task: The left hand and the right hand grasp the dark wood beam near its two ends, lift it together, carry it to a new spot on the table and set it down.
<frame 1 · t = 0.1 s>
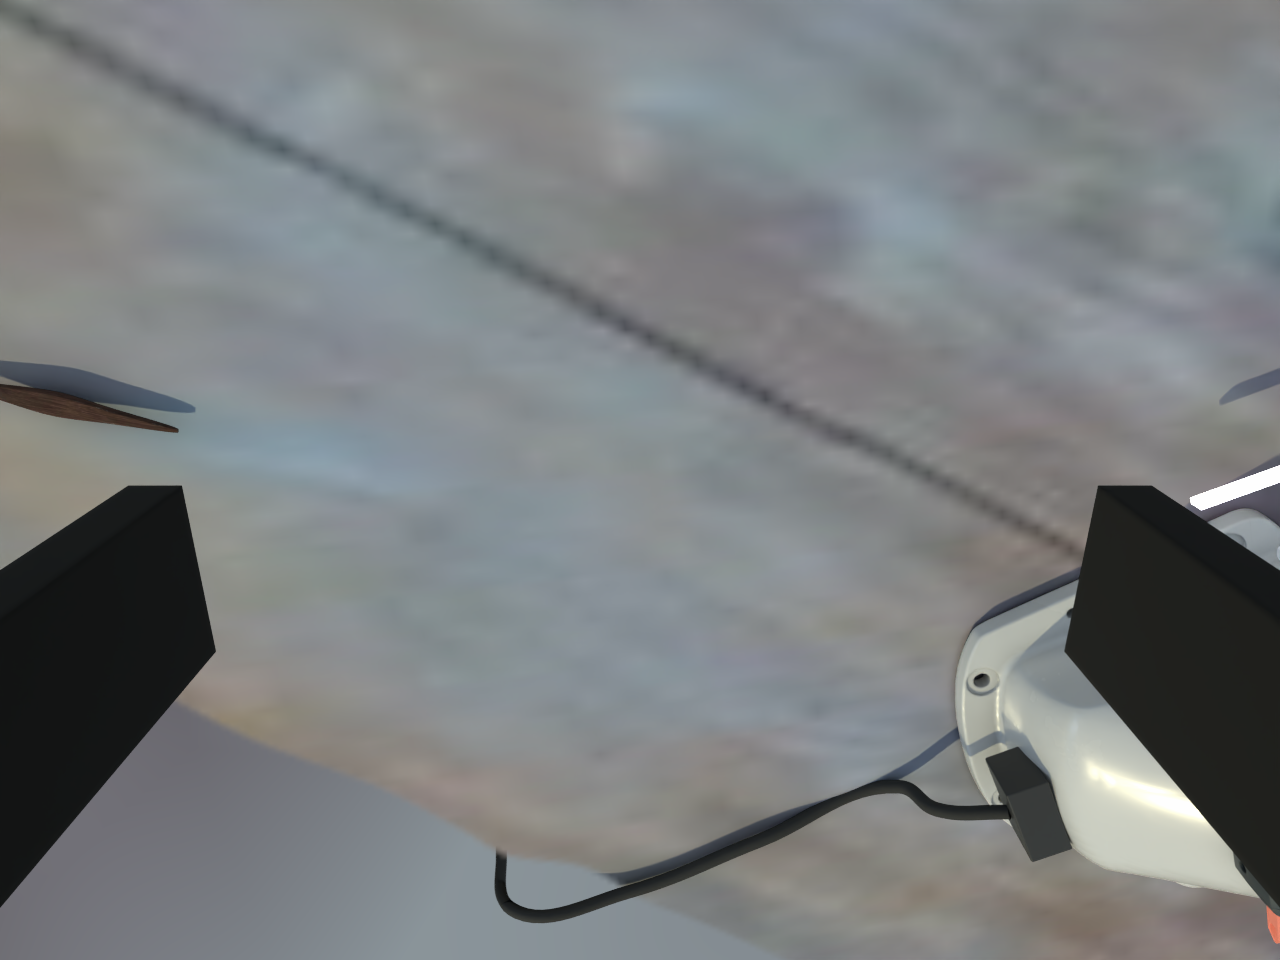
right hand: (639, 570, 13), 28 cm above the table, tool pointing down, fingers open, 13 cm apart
fork: (13, 388, 40), on the table
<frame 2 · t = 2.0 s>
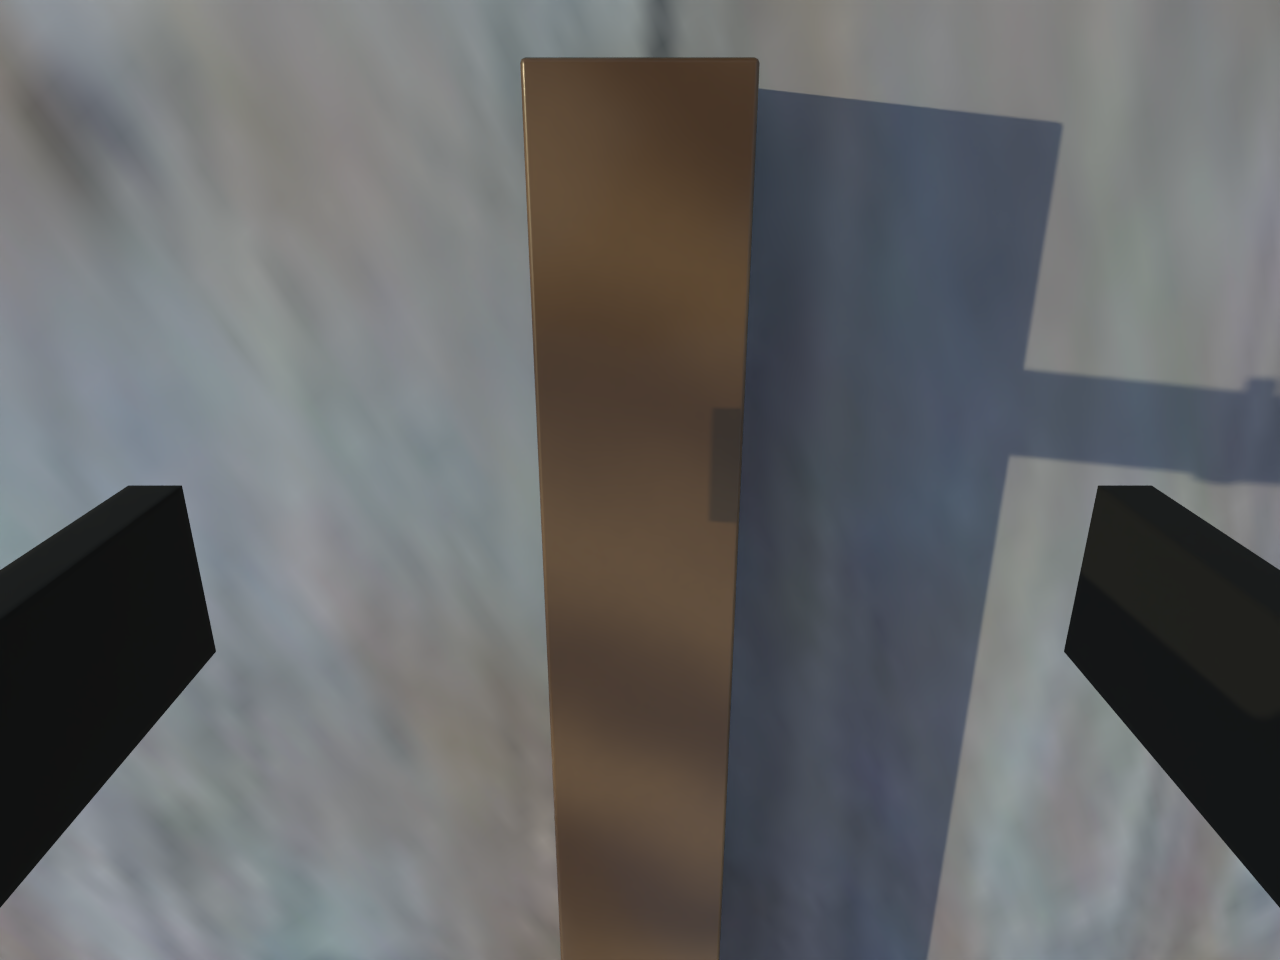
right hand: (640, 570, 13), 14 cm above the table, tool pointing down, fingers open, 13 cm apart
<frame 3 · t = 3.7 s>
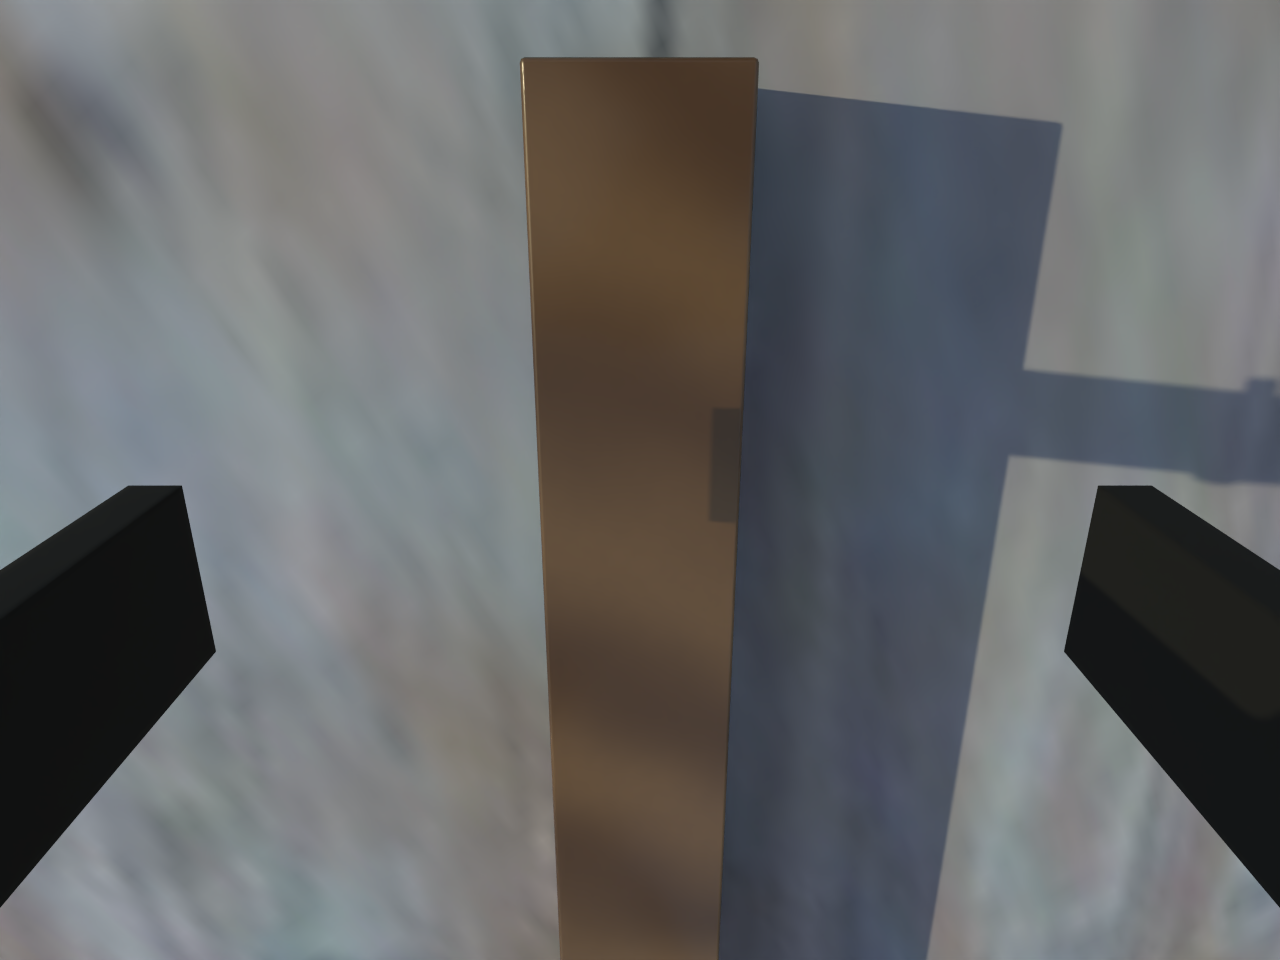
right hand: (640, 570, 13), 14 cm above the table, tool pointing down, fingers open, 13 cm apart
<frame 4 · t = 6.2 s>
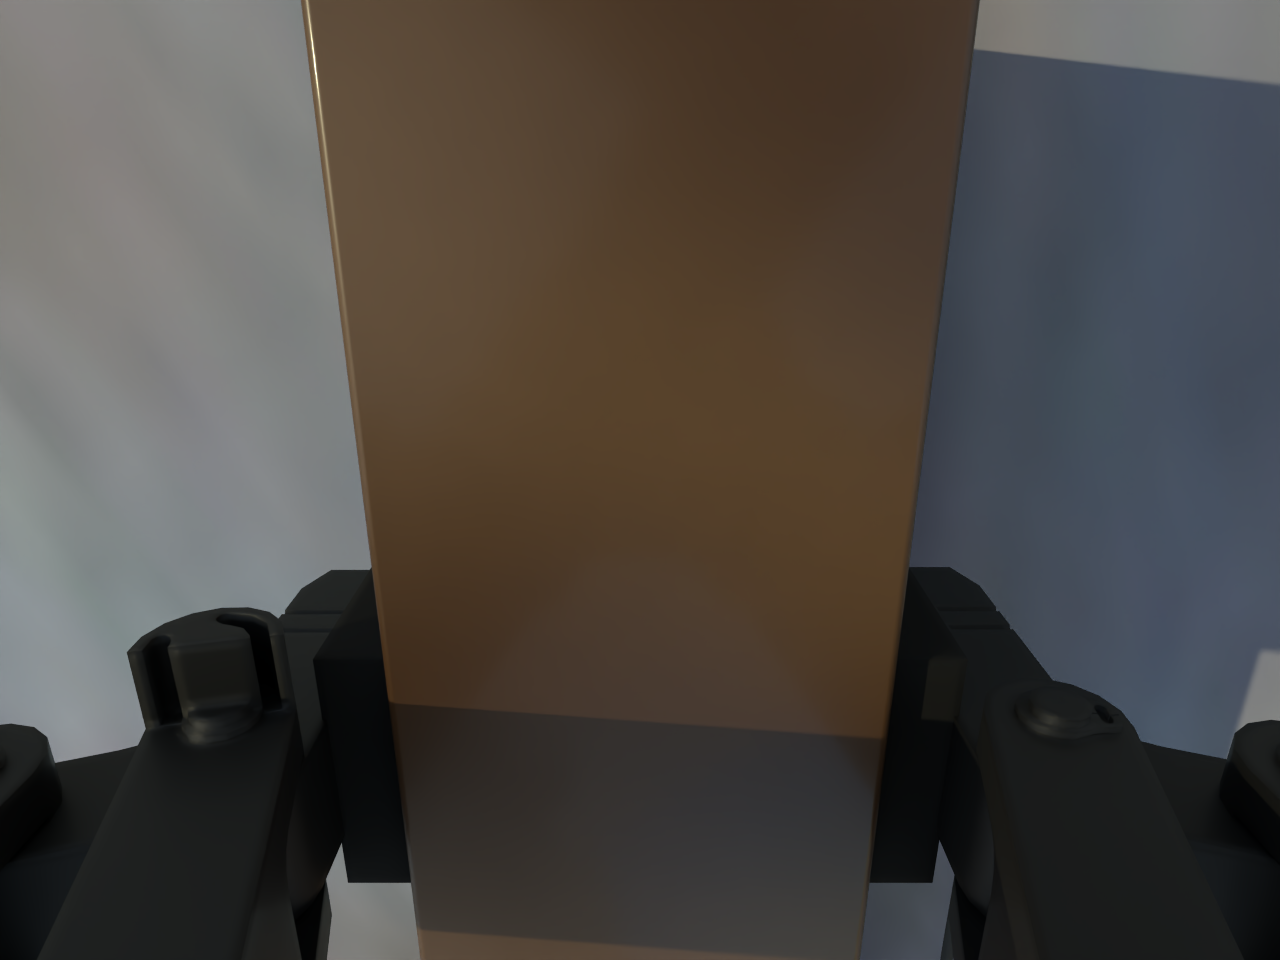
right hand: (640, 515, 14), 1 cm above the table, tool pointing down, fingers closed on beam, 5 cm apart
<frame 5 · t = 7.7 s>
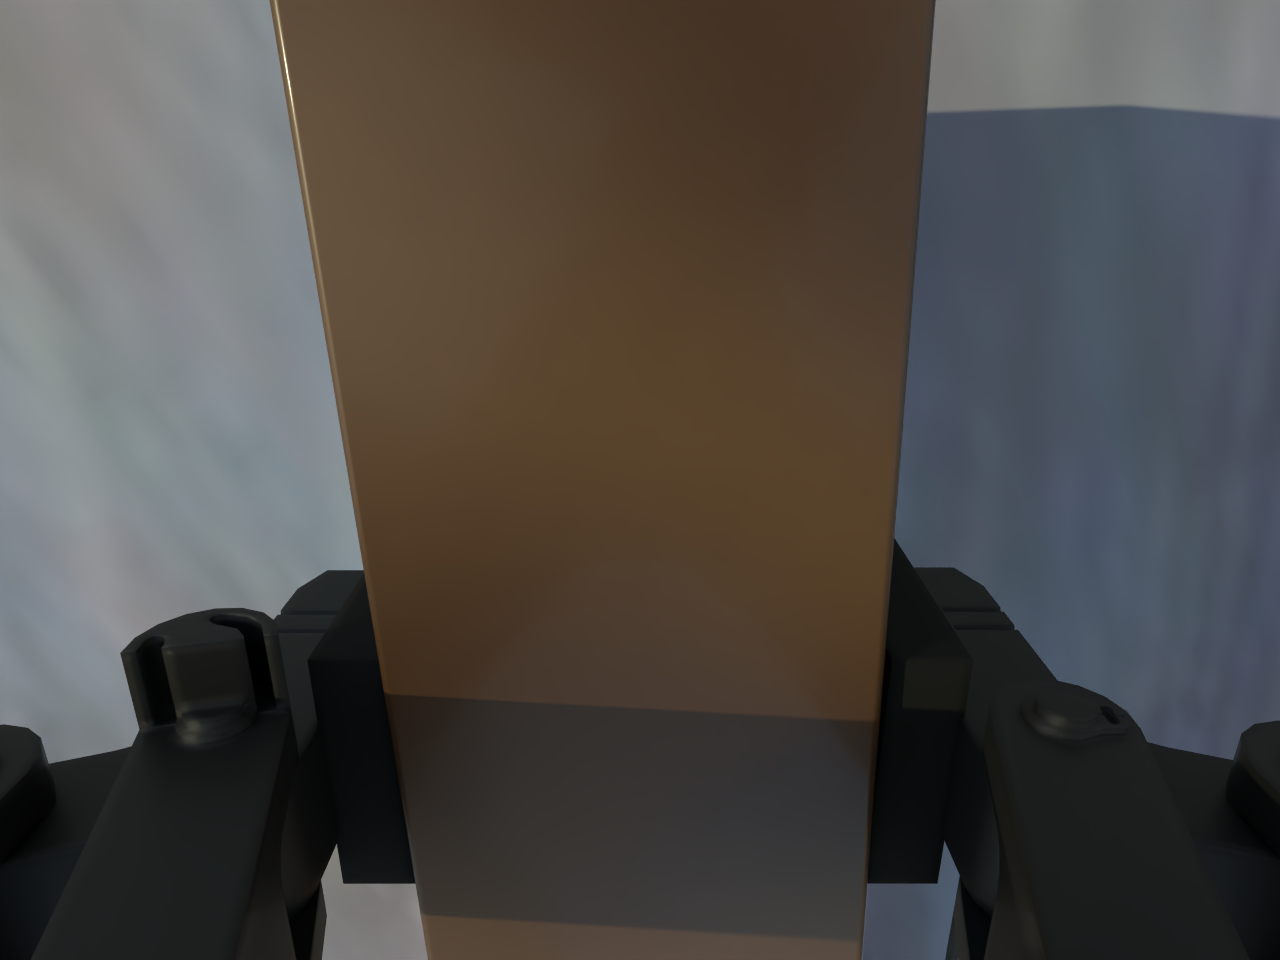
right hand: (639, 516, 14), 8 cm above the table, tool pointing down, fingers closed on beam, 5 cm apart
when the left hand's fingers open (4 cm above the table, at t = 9.5 s): beam stays where it is, on the table.
when the right hand's fingers open (2 cm above the table, at t = 9.5 s): beam stays where it is, on the table.
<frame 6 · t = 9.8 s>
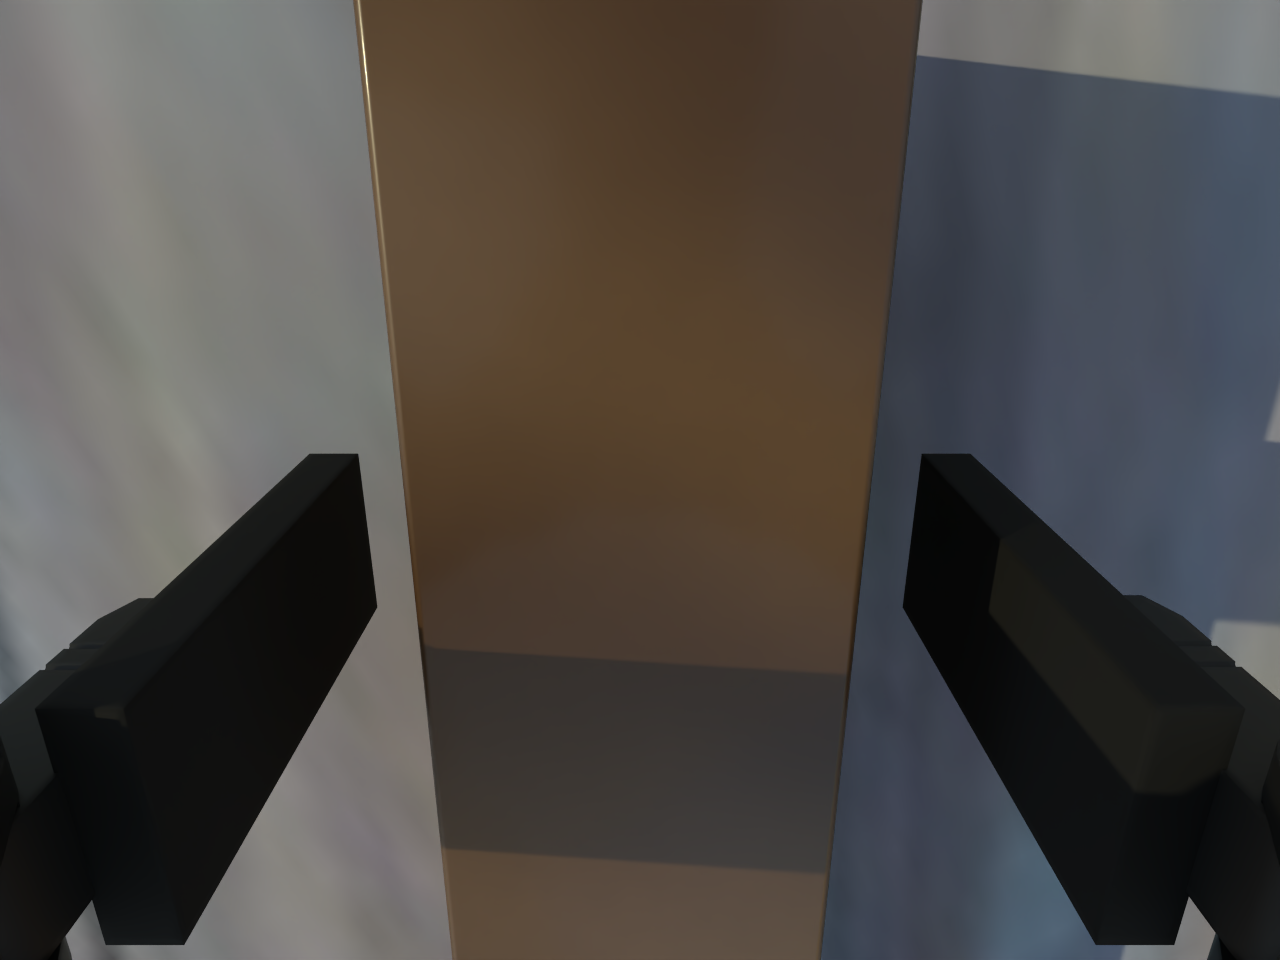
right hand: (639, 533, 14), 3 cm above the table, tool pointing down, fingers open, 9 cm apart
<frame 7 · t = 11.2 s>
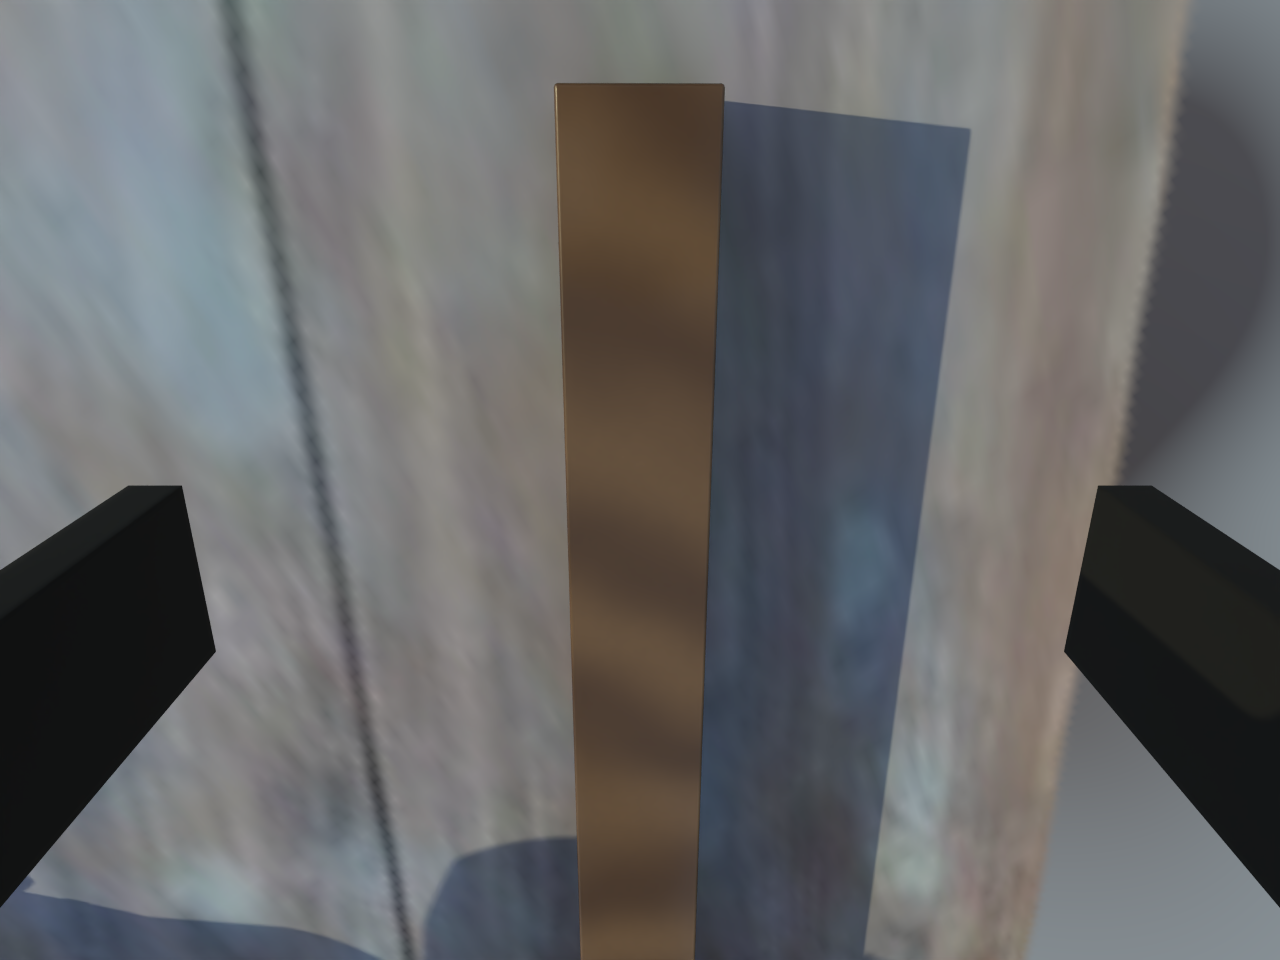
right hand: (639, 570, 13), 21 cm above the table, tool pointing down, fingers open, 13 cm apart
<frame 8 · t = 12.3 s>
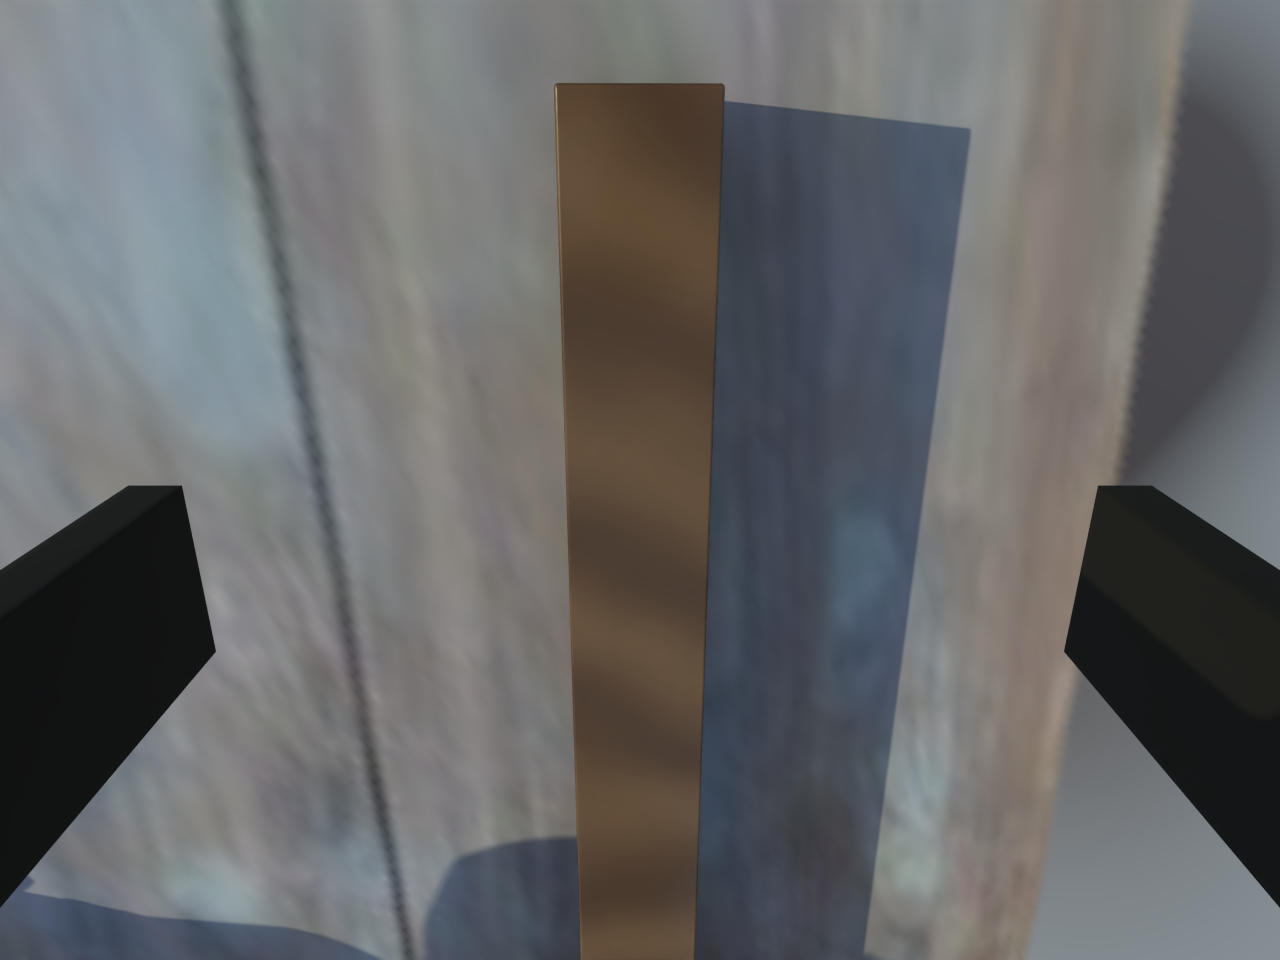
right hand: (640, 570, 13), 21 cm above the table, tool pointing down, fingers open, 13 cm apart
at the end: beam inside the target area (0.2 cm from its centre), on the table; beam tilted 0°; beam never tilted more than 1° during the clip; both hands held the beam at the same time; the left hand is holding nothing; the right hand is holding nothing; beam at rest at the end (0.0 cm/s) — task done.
